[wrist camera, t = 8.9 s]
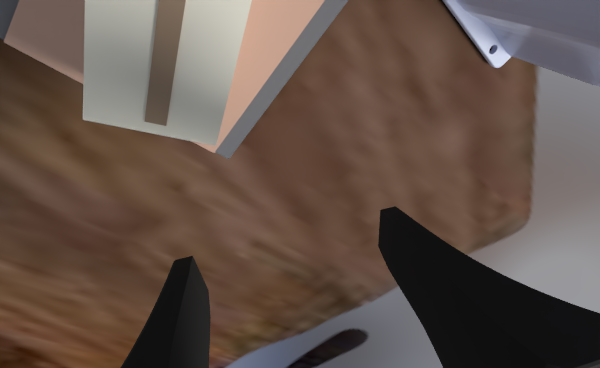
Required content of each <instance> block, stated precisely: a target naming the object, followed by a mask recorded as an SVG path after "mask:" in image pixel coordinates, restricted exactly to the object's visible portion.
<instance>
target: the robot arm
mask: <svg viewBox="0 0 600 368" xmlns="http://www.w3.org/2000/svg"><path fill="white" fill-rule="evenodd" d="M442 1H443V2H444V3H445V5H446V6H447V7H448V9H449V10H450V11H451V13H452V14H453V16H454V17H455V18H456V20H457V21H458V22H459V24H460V25H461V26H462V28H463V29H464V30H465V32H466V33H467V35H468V36H469V37H470V39H471V40H472V41H473V43H474V44H475V45H476V47H477V48H478V49H479V51H480V52H481V54H482V55H483V56H484V58H485V59H486V60H487V62H488V63H489V64H490V65H491V66H492V67H495V68H499V67H501V66H502V65H503V64H504V63H505V62H506V61H507V60H508V59H509V58H510V57H511V56H512V57H515V58H518V59H521V60H523V61H526V62H529V63H532V64H535V65H538V66H541V67H543V68H546V69H549V70H552V71H555V72H558V73H560V74H563V75H566V76H569V77H572V78H575V79H578V80H580V81H583V82H586V83H589V84H592V85H596V86H600V0H442ZM491 46H493V47H492V50H491V51H490V52H489V50H490V48H491ZM378 246H379V249H380V251H381V253H382V256H383V258H384V260H385V262H386V264H387V266H388V269H389V270H390V272H391V274H392V275H393V277H394V279H395V280H396V282H397V284H398V285H399V287H400V289H401V290H402V292H403V293H404V295H405V297H406V298H407V300H408V301H409V303H410V305H411V306H412V308H413V310H414V311H415V313H416V315H417V316H418V318H419V320H420V322H421V323H422V325H423V327H424V329H425V330H426V333H427V335H428V337H429V339H430V341H431V343H432V345H433V347H434V349H435V351H436V353H437V355H438V357H439V359H440V362H441V364H442V366H443V368H600V313H597V312H594V311H591V310H588V309H585V308H582V307H579V306H576V305H573V304H570V303H568V302H565V301H562V300H560V299H557V298H555V297H552V296H550V295H547V294H545V293H542V292H540V291H537V290H535V289H533V288H530V287H528V286H526V285H524V284H522V283H519V282H517V281H515V280H513V279H510V278H508V277H506V276H504V275H502V274H500V273H498V272H496V271H494V270H493V269H491V268H489V267H486V266H485V265H483V264H481V263H479V262H477V261H476V260H474V259H472V258H470V257H469V256H467V255H465V254H464V253H462V252H461V251H459V250H457V249H456V248H454V247H452V246H451V245H449V244H448V243H446V242H445V241H443V240H442V239H440V238H439V237H437V236H436V235H434V234H433V233H432V232H430V231H429V230H427V229H426V228H424V227H423V226H422V225H420V224H419V223H418V222H416V221H415V220H413V219H412V218H411V217H409V216H408V215H407V214H405V213H404V212H402V211H401V210H400V209H398V208H397V207H391V208H387V209H383V210H381V211H380V228H379V244H378ZM209 345H210V304H209V293H208V289H207V286H206V284H205V282H204V280H203V278H202V275H201V273H200V271H199V269H198V267H197V264H196V262H195V260H194V258H193V256H190V257H186V258H182V259H178V260H175V261H174V263H173V265H172V268H171V270H170V272H169V275H168V277H167V280H166V282H165V284H164V287H163V289H162V291H161V293H160V296H159V298H158V300H157V302H156V304H155V306H154V308H153V310H152V312H151V314H150V316H149V318H148V320H147V322H146V324H145V326H144V328H143V330H142V332H141V333H140V335H139V337H138V339H137V341H136V343H135V345H134V346H133V348H132V350H131V351H130V353H129V355H128V357H127V358H126V360H125V362H124V363H123V365H122V366H121V368H209Z"/></svg>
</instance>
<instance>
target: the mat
mask: <svg viewBox="0 0 600 368" xmlns="http://www.w3.org/2000/svg"><path fill="white" fill-rule="evenodd" d="M347 1H348V0H252V2H251V6H250V10H249V14H248V19H247V23H246V27H245V31H244V35H243V39H242V43H241V47H240V51H239V55H238V59H237V63H236V67H235V71H234V75H233V79H232V83H231V87H230V91H229V96H228V100H227V104H226V108H225V112H224V116H223V120H222V124H221V128H220V132H219V136H218V140H217V144H216V146H213V145H208V144H203V143H198V142H194V143H196V144H198V145H200V146H201V147H203V148H205V149H207V150H209V151H211V152H213V153H215V152H216V153H218V154H220V155H222V156H224V157H225V158H227V159H229V158H230V157H231V156H232V154H233V153H234V152H235V150H236V149H237V148H238V146H239V145H240V144H241V142H242V141H243V140H244V138H245V137H246V136H247V134H248V133H249V132H250V130H251V129H252V128H253V126H254V125H255V124H256V122H257V121H258V120H259V118H260V117H261V116H262V114H263V113H264V112H265V110H266V109H267V108H268V106H269V105H270V104H271V102H272V101H273V100H274V98H275V97H276V96H277V94H278V93H279V92H280V90H281V89H282V88H283V86H284V85H285V84H286V82H287V81H288V80H289V78H290V77H291V76H292V74H293V73H294V72H295V70H296V69H297V68H298V66H299V65H300V64H301V63H302V61H303V60H304V59H305V57H306V56H307V55H308V53H309V52H310V51H311V49H312V48H313V47H314V45H315V44H316V43H317V41H318V40H319V39H320V37H321V36H322V35H323V33H324V32H325V31H326V29H327V28H328V27H329V25H330V24H331V23H332V21H333V20H334V19H335V17H336V16H337V15H338V13H339V12H340V11H341V9H342V8H343V7H344V5H345V4H346V3H347ZM84 24H85V0H0V38H1V39H3V40H4V43H6V44H8V45H10V46H12V47H14V48H16V49H17V50H19V51H21V52H23V53H25V54H27V55H29V56H31V57H33V58H35V59H36V60H38V61H40V62H42V63H44V64H46V65H48V66H50V67H52V68H53V69H55V70H57V71H59V72H61V73H63V74H65V75H67V76H69V77H71V78H72V79H74V80H76V81H78V82H80V83H82V84H83V83H84ZM192 142H193V141H192Z"/></svg>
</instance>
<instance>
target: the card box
mask: <svg viewBox="0 0 600 368" xmlns="http://www.w3.org/2000/svg"><path fill="white" fill-rule="evenodd" d="M251 2H252V0H85V24H84V83H83V120H87V121H92V122H97V123H102V124H107V125H112V126H117V127H123V128H128V129H133V130H138V131H143V132H148V133H153V134H158V135H163V136H168V137H173V138H178V139H183V140H188V141H193V142H198V143H203V144H208V145H213V146H216V144H217V140H218V136H219V132H220V128H221V124H222V120H223V116H224V112H225V108H226V104H227V100H228V96H229V91H230V87H231V83H232V79H233V75H234V71H235V67H236V63H237V59H238V55H239V51H240V47H241V43H242V39H243V35H244V31H245V27H246V23H247V19H248V14H249V10H250V6H251Z"/></svg>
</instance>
